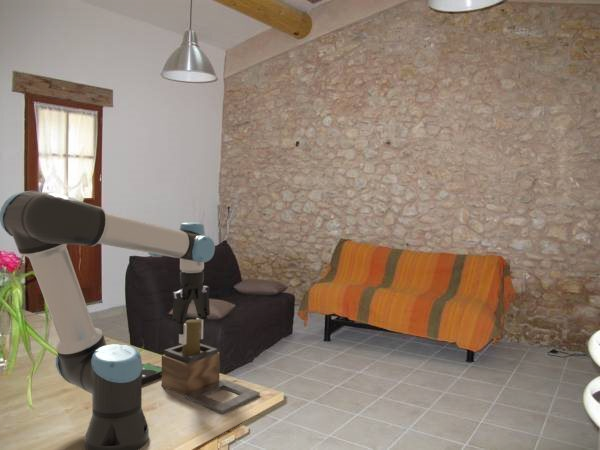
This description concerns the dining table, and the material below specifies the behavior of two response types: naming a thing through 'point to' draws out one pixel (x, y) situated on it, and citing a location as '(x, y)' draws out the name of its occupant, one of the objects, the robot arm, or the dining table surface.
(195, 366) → the raised stand
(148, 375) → the disk drive
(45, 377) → the dining table surface
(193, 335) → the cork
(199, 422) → the dining table surface
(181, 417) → the dining table surface
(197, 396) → the low frame
